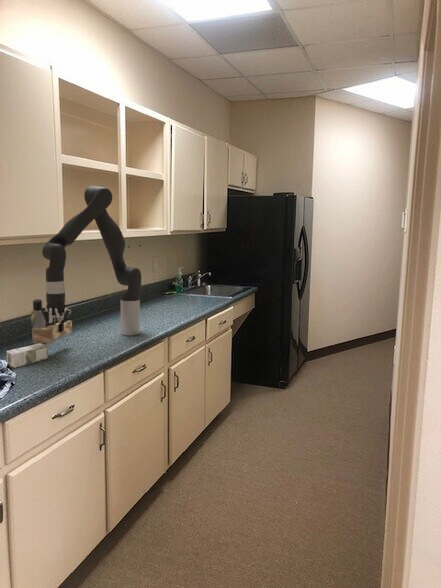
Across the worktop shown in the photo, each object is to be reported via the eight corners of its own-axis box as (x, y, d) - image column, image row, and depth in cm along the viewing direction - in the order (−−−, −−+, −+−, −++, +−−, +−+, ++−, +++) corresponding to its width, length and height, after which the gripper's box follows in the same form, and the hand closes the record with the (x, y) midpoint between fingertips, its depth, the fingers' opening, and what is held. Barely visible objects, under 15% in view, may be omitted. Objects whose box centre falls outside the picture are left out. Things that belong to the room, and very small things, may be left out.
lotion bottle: (47, 341, 210) (46, 298, 207) (43, 344, 205) (41, 301, 201) (35, 341, 210) (33, 298, 207) (30, 344, 205) (28, 301, 201)
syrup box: (39, 342, 188) (5, 350, 177) (47, 345, 184) (13, 354, 173) (40, 356, 189) (6, 364, 178) (48, 359, 185) (14, 368, 174)
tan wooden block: (61, 330, 203) (60, 319, 202) (77, 332, 201) (76, 321, 200) (33, 341, 184) (33, 329, 183) (50, 343, 182) (50, 330, 181)
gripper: (75, 291, 192) (76, 331, 195) (46, 289, 195) (47, 328, 198) (65, 294, 185) (66, 335, 188) (35, 291, 188) (36, 332, 191)
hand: (57, 331), depth 193 cm, fingers closed on tan wooden block, 3 cm apart
